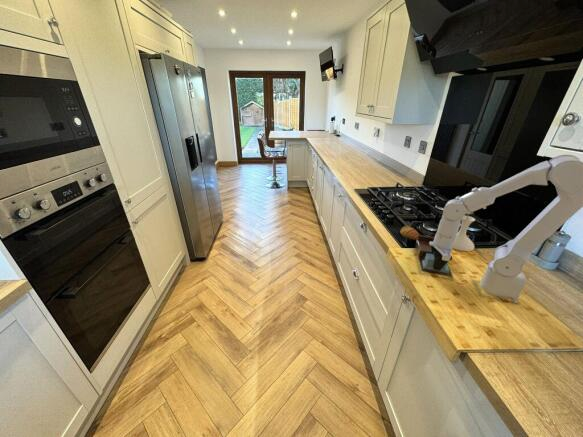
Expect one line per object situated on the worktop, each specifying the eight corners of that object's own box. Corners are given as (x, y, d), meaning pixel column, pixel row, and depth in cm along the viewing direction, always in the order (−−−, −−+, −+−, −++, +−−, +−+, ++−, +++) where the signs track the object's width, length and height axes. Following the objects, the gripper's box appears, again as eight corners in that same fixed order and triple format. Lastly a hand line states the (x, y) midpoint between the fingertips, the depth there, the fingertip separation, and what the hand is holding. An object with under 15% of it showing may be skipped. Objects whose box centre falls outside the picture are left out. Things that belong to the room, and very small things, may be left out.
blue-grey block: (445, 266, 87) (449, 256, 85) (448, 273, 84) (452, 263, 82) (422, 262, 90) (425, 252, 88) (423, 268, 86) (426, 258, 84)
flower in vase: (468, 257, 94) (492, 199, 83) (437, 245, 102) (456, 191, 91) (477, 246, 102) (500, 191, 91) (448, 235, 110) (466, 184, 99)
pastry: (424, 241, 106) (426, 233, 104) (412, 243, 104) (414, 236, 102) (408, 231, 114) (410, 224, 112) (397, 233, 112) (399, 226, 110)
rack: (440, 252, 98) (445, 239, 95) (452, 279, 82) (457, 265, 80) (414, 247, 101) (418, 234, 98) (420, 273, 85) (425, 259, 82)
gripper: (429, 222, 88) (420, 253, 94) (437, 242, 75) (426, 275, 81) (451, 225, 86) (440, 256, 92) (462, 246, 73) (449, 280, 79)
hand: (435, 265), depth 86 cm, fingers closed on blue-grey block, 4 cm apart
